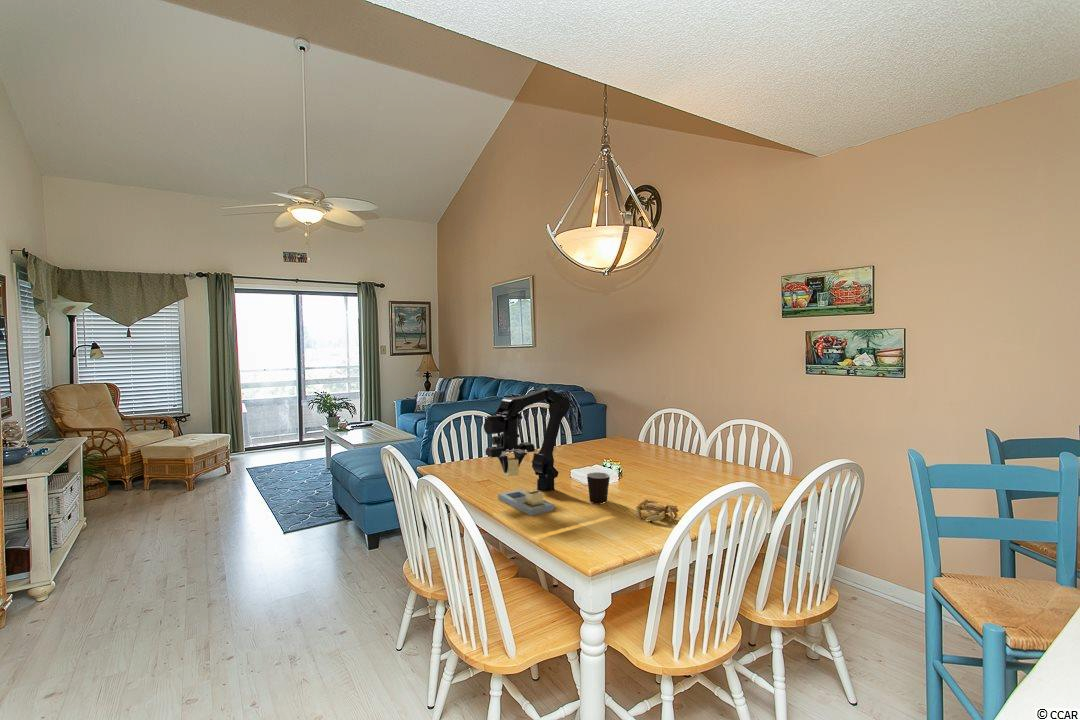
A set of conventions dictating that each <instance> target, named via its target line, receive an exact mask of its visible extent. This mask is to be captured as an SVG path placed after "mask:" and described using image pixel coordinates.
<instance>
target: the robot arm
mask: <svg viewBox="0 0 1080 720" xmlns="http://www.w3.org/2000/svg"><path fill="white" fill-rule="evenodd" d="M543 401H545V402H546V403H547V404H548V412H549V418H548V423H547V427H546V429H545V434H544V437H543V441H542V444H541V448H540V450H539V451H538V452H535V451H536V450H535V448H536V447H535V445H534V444H533V443H531V442H529V441H528V442H525V441H524V442H520V443H519V438H520V437H521V436H520V434H519V425H518V424H519V422H518V421H519V420H523V418H524V417H523V416H522V415H521V414H520V413H521V412H522V411H523V410H524V409H525V408H526V407H529V406H532V405H534V404H537V403H539V402H543ZM570 407H571V401H570V399H569V398H568V397H566V396H563V395H562V394H560V393H558V392H556V391H555V390H553V389H552V388H550V387H549V388H548V387H542V388H541V389H539V390H535V391H533V392H529V393H527V394H524V395H521V396H511V397H505V398H503V399H501V401H500V404H499V406H498V408H497V410H496V412H495V413H494V415H487V416H486V419H485V421H484V423H483V429H484V432H485V434H486V435H487V436H489V435H495V434H501V435H500V437H498V435H496V436H491V445H492V446H489V447H486V448H485V456H487V457H490V458H497V459H498V460H499V463H500V465H501V468H502V472H503V471H504V473H506V471H507V458H509V456H508V455H506V454H507V453H513V455H514V458H516V459H518V469H519V468H520V466H521V463H522V462H523V459H524V458H525V456H527V455H528V453H533V452H534V454H533V457H532V461H531V466H532V467H531V468H532V469H533V472H534V474H535V476H538V478H537V479H536V490H537V491H541V492H550V491H555V480H556V478H558V477H559V471H558V470H557V469H556V467H554V466H555V459H554V455H553V454H554V453H553V452H554V450H555V449H554V448H555V445H556V442H557V439H558V434H559V430H560V427H561V424H562V420H563V419H564V417H565V416H566V415H567V414H568V412H569V410H570Z"/></svg>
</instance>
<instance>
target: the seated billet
mask: <svg viewBox="0 0 1080 720" xmlns="http://www.w3.org/2000/svg"><path fill="white" fill-rule="evenodd" d="M525 492H526V505H528V506H530V507H536V506H540V505H543V500H544V494H543V491H541V490H537V489H534V490H529V491H525Z"/></svg>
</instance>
